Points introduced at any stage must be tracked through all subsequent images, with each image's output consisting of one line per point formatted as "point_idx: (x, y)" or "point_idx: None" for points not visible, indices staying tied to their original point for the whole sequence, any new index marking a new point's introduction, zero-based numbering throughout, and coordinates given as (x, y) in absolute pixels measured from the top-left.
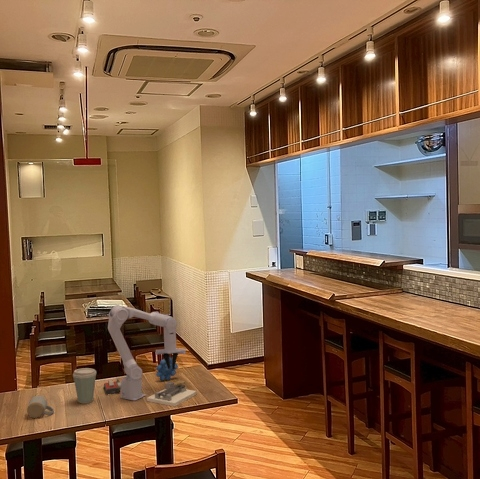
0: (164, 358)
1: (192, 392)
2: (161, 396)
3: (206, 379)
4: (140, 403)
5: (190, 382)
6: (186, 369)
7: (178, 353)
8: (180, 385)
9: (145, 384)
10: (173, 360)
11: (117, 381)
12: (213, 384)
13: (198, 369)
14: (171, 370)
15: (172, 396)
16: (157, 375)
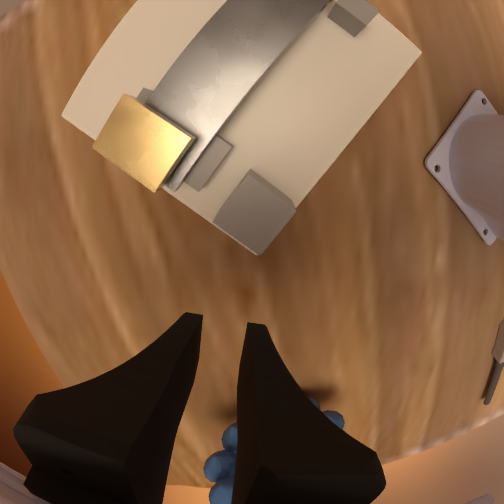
0: (345, 438)
1: (84, 89)
2: (319, 38)
3: (65, 356)
4: (442, 36)
5: (133, 342)
6: (189, 476)
7: (19, 478)
8: None
9: (399, 362)
10: (139, 381)
11: (497, 381)
12: (17, 274)
13: None
14: None
15: None
16: (337, 414)
